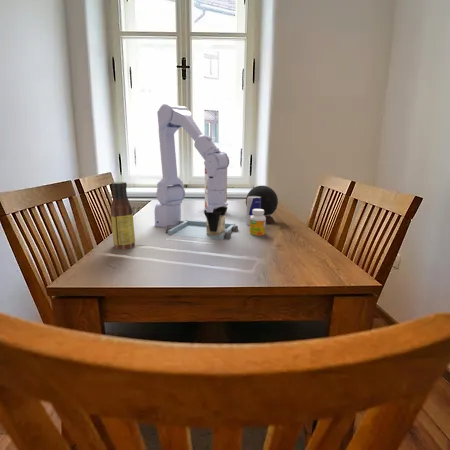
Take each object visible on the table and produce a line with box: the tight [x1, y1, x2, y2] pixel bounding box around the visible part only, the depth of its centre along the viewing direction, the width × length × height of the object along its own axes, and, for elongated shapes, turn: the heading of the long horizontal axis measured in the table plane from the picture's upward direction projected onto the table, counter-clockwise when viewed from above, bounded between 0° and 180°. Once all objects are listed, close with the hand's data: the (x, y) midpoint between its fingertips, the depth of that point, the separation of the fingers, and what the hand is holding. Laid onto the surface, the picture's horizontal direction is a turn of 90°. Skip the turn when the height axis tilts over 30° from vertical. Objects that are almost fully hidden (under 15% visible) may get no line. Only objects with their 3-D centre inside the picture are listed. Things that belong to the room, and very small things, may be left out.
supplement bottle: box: [249, 209, 267, 237], centre depth 117 cm, size 5×5×10 cm
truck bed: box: [165, 219, 239, 241], centre depth 118 cm, size 22×18×3 cm
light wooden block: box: [206, 214, 226, 236], centre depth 116 cm, size 5×5×6 cm
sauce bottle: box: [110, 181, 136, 250], centre depth 101 cm, size 7×6×20 cm
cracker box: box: [204, 167, 228, 213], centre depth 161 cm, size 14×6×21 cm, turn 25°
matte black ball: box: [245, 185, 279, 225], centre depth 141 cm, size 13×13×15 cm
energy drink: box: [245, 196, 261, 227], centre depth 130 cm, size 5×5×12 cm
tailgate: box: [164, 238, 215, 245], centre depth 108 cm, size 16×2×5 cm
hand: (215, 229), depth 116 cm, fingers closed on light wooden block, 5 cm apart
